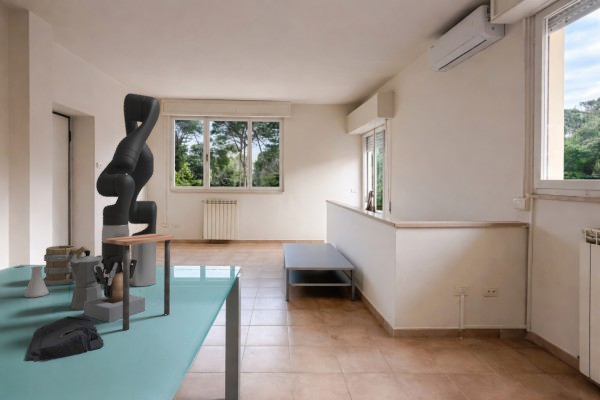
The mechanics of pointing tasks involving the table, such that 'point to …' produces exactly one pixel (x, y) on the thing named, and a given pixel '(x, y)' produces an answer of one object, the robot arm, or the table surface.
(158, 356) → the table surface
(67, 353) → the dark slate chunk
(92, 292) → the coffeepot
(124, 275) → the small wooden table
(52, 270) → the tankard
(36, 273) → the flask
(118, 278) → the peg
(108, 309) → the socket
